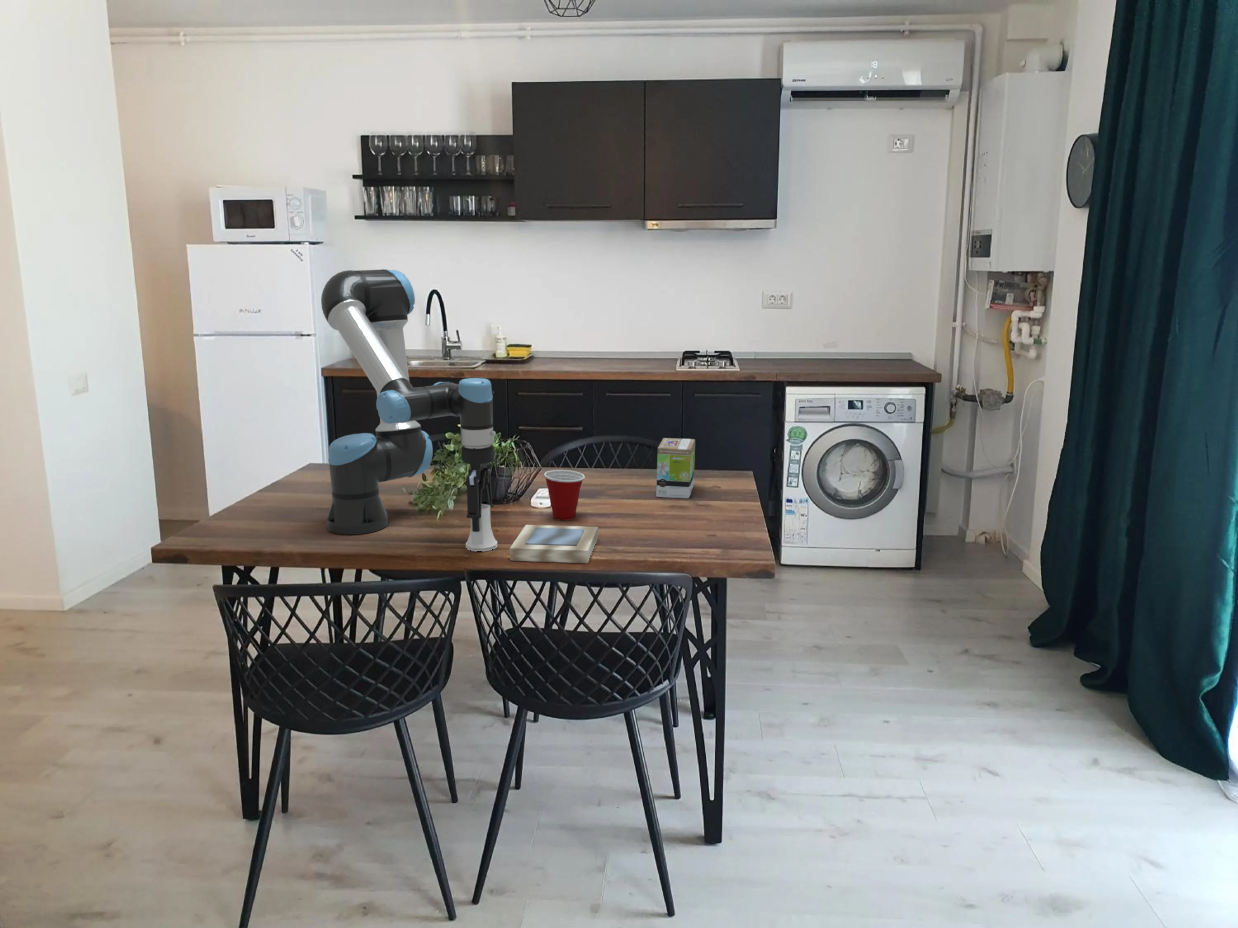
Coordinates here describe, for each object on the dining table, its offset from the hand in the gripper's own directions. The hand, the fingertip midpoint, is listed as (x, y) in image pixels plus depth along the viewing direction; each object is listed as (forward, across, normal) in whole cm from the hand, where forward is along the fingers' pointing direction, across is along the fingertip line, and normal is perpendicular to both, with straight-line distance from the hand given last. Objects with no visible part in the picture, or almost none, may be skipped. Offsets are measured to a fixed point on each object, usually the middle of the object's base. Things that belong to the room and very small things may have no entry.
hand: (481, 538), depth 218 cm
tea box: (+2, +55, -44) cm, 70 cm away
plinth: (+2, 0, -18) cm, 18 cm away
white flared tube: (+2, 0, 0) cm, 2 cm away
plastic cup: (+2, +26, -16) cm, 31 cm away
